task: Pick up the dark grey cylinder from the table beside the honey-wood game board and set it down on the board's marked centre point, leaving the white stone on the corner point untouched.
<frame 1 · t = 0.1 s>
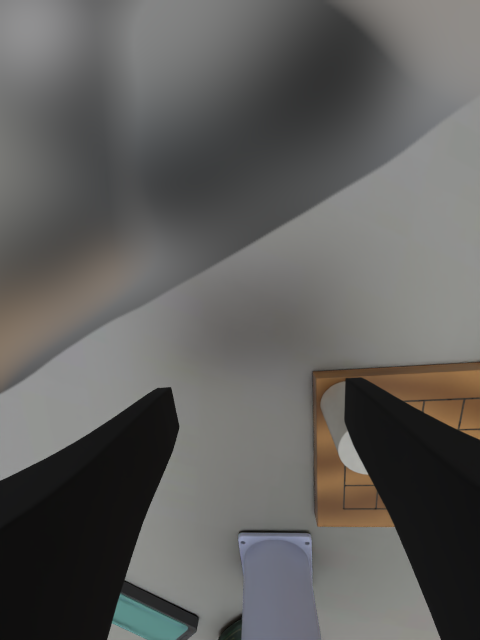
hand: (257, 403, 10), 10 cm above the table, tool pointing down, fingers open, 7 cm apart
coffee jar: (252, 630, 32), on the table
go board: (407, 447, 22), on the table
smartphone: (140, 604, 32), on the table
white stone: (347, 403, 20), point 1 cm above the table, touching go board
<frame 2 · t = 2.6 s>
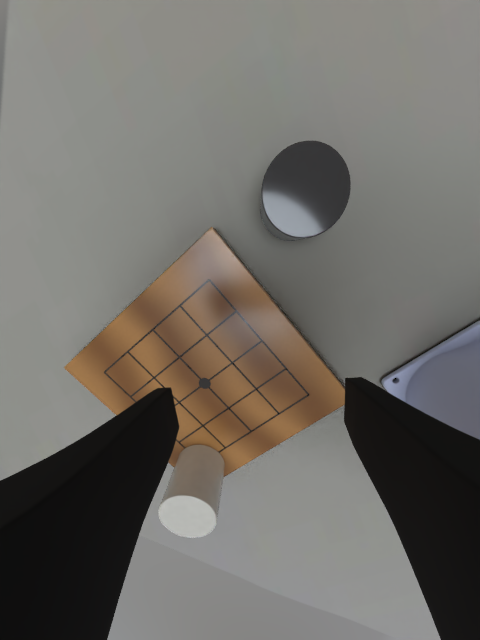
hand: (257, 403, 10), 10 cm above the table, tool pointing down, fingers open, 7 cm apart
go board: (207, 375, 20), on the table
dark grey cylinder: (292, 207, 16), on the table
white stone: (201, 463, 22), point 1 cm above the table, touching go board
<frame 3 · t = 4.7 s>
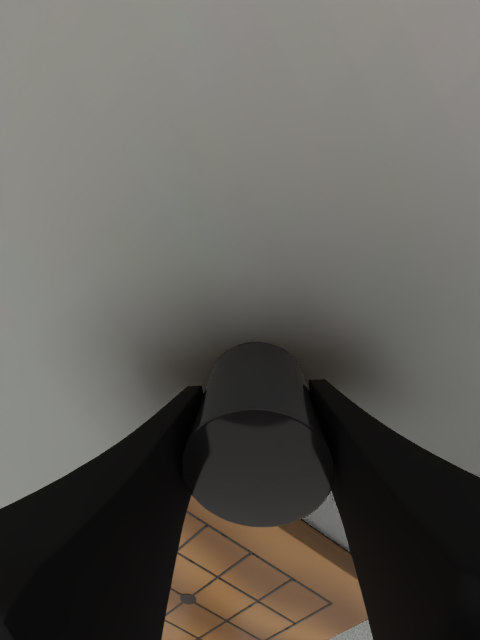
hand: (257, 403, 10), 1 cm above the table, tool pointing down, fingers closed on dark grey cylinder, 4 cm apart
go board: (193, 572, 15), on the table
dark grey cylinder: (256, 385, 11), on the table, touching gripper
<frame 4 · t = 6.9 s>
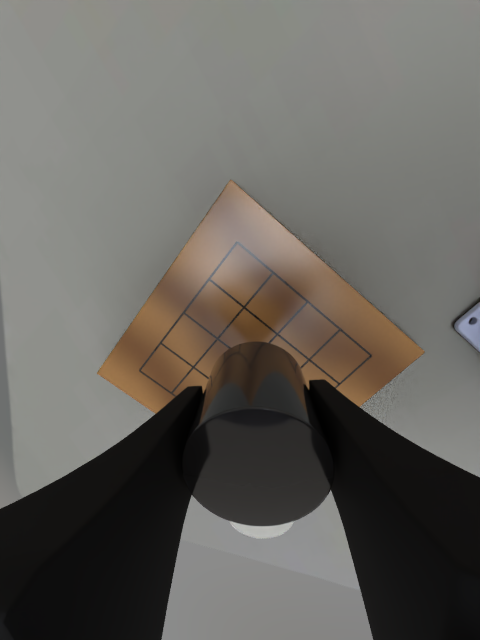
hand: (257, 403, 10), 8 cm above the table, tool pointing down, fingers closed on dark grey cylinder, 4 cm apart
go board: (250, 356, 18), on the table
dark grey cylinder: (256, 384, 11), point 7 cm above the table, touching gripper
white stone: (259, 455, 20), point 1 cm above the table, touching go board
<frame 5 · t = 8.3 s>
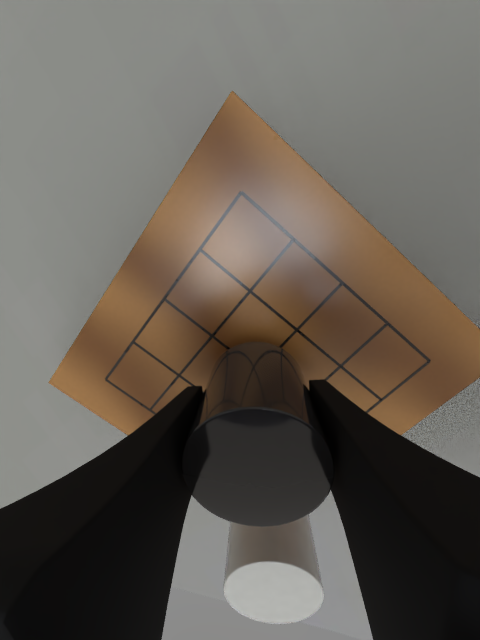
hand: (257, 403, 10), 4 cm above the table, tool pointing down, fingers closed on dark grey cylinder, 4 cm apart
go board: (257, 360, 14), on the table
dark grey cylinder: (256, 384, 11), point 3 cm above the table, touching gripper
white stone: (268, 491, 15), point 1 cm above the table, touching go board
when the fingers open (3 cm above the table, at t = 9.2 s): dark grey cylinder stays where it is, resting on go board.
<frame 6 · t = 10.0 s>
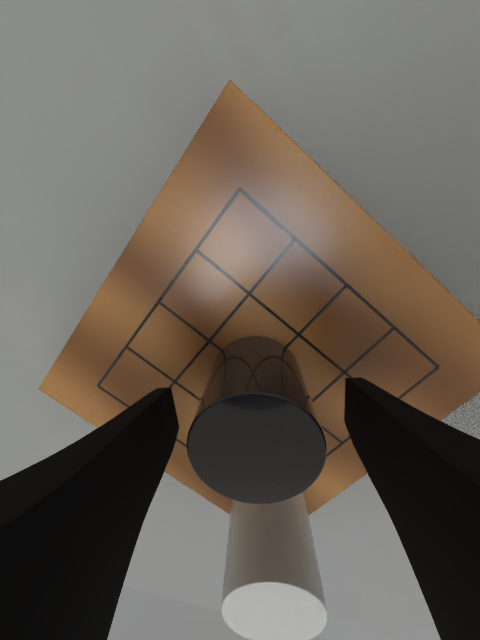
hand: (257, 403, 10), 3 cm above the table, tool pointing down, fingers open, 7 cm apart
go board: (256, 365, 13), on the table
dark grey cylinder: (255, 377, 12), point 1 cm above the table, touching go board
white stone: (268, 502, 14), point 1 cm above the table, touching go board
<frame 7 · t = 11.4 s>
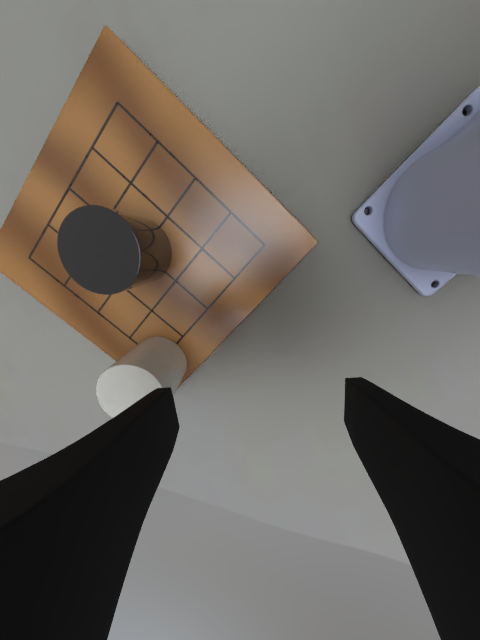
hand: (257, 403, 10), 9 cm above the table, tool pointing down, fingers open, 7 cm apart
go board: (149, 251, 18), on the table
dark grey cylinder: (141, 251, 16), point 1 cm above the table, touching go board
white stone: (160, 362, 19), point 1 cm above the table, touching go board
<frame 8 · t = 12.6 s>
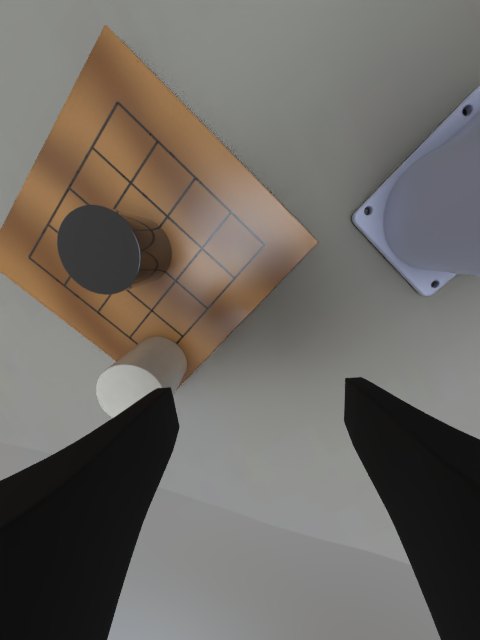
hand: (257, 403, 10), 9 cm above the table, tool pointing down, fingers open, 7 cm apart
go board: (149, 251, 18), on the table
dark grey cylinder: (141, 251, 16), point 1 cm above the table, touching go board
white stone: (160, 362, 19), point 1 cm above the table, touching go board
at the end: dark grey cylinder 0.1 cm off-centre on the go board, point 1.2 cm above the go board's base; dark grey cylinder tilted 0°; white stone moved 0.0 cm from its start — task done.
